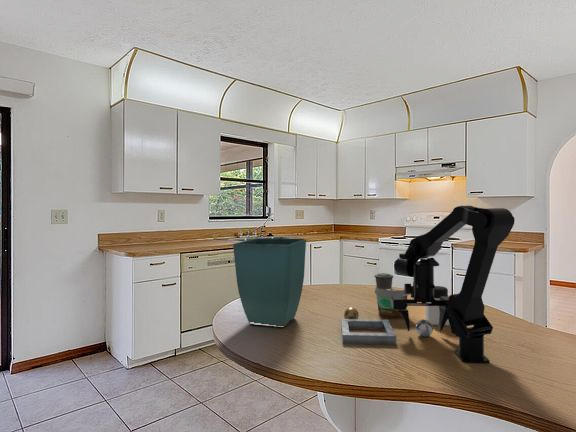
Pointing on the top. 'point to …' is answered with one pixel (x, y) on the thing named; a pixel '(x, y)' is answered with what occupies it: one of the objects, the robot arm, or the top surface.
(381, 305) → the food container
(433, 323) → the medicine bottle
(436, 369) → the top surface
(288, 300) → the flower pot
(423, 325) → the steel ball
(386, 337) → the grey square frame
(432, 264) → the robot arm
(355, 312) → the bronze ball
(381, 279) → the coffee cup
